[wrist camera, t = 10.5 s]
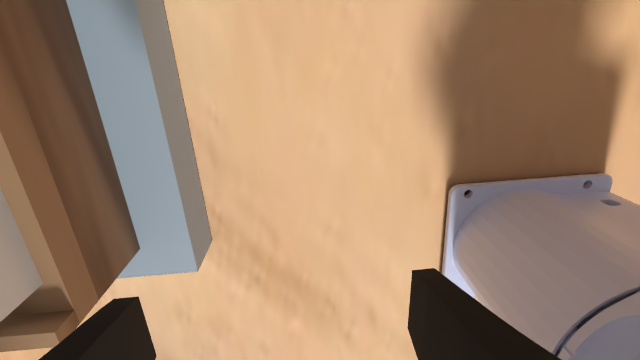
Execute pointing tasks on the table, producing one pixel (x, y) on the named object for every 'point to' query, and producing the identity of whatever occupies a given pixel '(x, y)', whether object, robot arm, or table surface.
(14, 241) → the crate
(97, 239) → the tan open box
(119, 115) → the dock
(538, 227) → the robot arm
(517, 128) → the table surface
